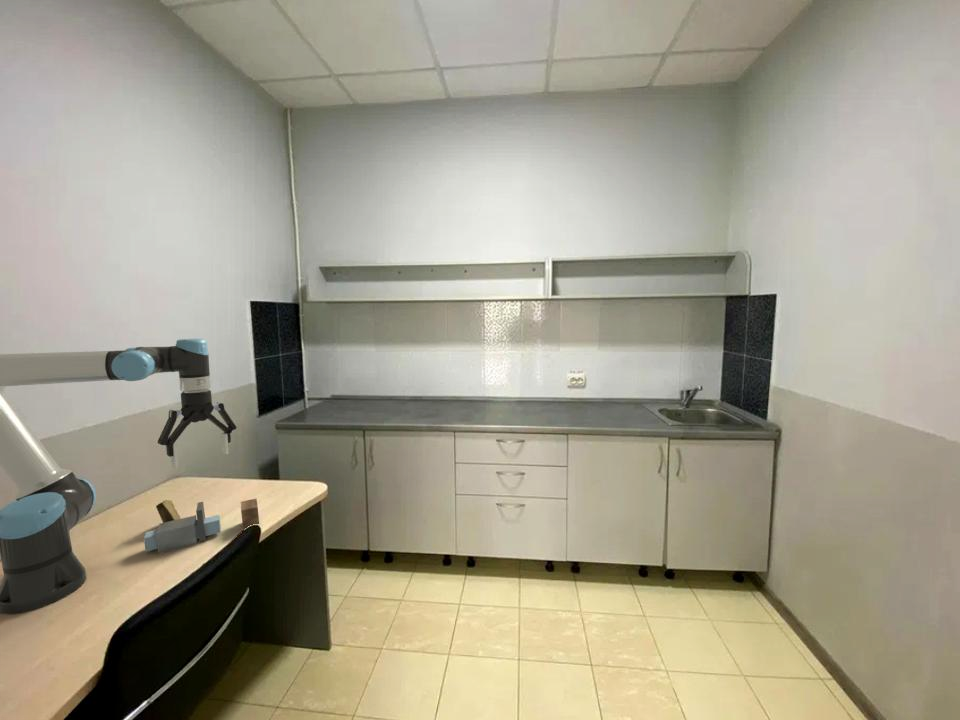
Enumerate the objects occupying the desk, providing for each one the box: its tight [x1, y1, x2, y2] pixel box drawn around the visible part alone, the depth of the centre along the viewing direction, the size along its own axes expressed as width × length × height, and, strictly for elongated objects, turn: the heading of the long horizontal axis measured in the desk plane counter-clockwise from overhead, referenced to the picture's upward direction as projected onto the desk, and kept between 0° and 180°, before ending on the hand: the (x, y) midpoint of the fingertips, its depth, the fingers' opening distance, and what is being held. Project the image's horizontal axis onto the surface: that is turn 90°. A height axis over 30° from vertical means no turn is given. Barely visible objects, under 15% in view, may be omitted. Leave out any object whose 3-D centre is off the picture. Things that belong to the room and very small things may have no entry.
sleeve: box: [156, 514, 199, 555], centre depth 122 cm, size 9×6×6 cm
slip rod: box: [143, 501, 222, 552], centre depth 123 cm, size 18×6×10 cm, turn 121°
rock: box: [155, 499, 181, 523], centre depth 133 cm, size 11×9×10 cm
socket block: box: [240, 497, 260, 531], centre depth 132 cm, size 4×7×7 cm, turn 31°
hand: (201, 459), depth 125 cm, fingers open, 13 cm apart
